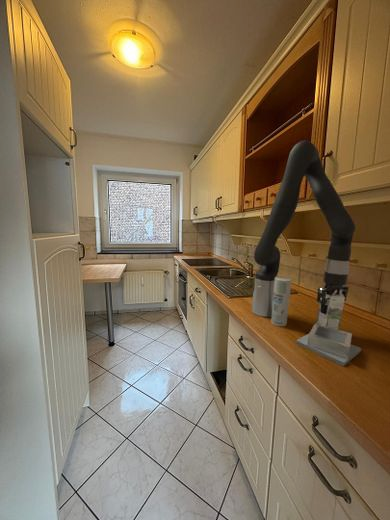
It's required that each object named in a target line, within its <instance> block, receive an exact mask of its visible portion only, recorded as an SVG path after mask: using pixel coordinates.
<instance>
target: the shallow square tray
mask: <svg viewBox="0 0 390 520" xmlns="http://www.w3.org/2000/svg"><path fill="white" fill-rule="evenodd" d="M308 334H309V335H308V343H307V345H308V346H311V347H314V348H317V349H320V350H322V351H325V352H328V353H331V354H334V355H337V356H340V357H343V358H346V359H348V355H349V349H350V344H351V343H352V337H353V336H352V335H353V334H352V333H351V332H347V331H343V330H340V329H339V330H337V329H333V328H330V327H326V326H323V325H319V324H316V323H314V324H313V326H312V328H311V330H310V331H309V333H308Z"/></svg>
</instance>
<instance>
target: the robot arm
mask: <svg viewBox="0 0 390 520" xmlns="http://www.w3.org/2000/svg"><path fill="white" fill-rule="evenodd" d="M288 155H289V156H288V159H287V163H286V167H285V169H284V170H285V171H284V174H283V178H282V181H281V183H280V186H279V187H278V191H277V193H276V197H275V199H274V202H273V204H272V207H271V210H270V213H269V216H268V218H267V221H266V223H265V224H266V225H265V227H264V230H263V232H262V235H261V237H260V239H259V241H258V244H257V245H256V248H255V249H254V252H253V259H254V261H255V263H256V264H257V265H258V266H259V265H260V267H259V269H258V270H257V271H256V272H255V277H254V279H255V280H254V291H253V292H252V302H251V311H252V313H253V314H254V315H256V316H258V317H264V318H265V317H266V318H267V317H270V318H271V317H272V306H273V295H274V283H275V277H278V274H279V270H280V265H281V264H280V261H281V250H280V249H279V247H278V246H277V241H278V240H279V237H280V236H281V235H282V233H283V232H284V231H285V229H286V228H287V227H288V226H289V225H290V223H291V221H292V219H293V217H294V215H295V212H296V210H297V207H298V203H299V200H300V192H301V186H302V182H303V180H304V177H305V179H306V181H307V182H308V184H309V187H310V189H311V191H312V195H313V197H314V200H315V202H316V204H317V206H318V208H319V209H320V212H321V213H322V214H323V216H324V217H325V219H326V222H327V224H328V226H329V228H330V231H331V238H330V245H329V248H328V252H327V259H326V261H325V266H324V268H325V269H324V274H323V279H322V280H323V282H324V283H325V285H324V286H323V287H318V288H317V297H316V302H317V303H319V304H320V303H321V308H320V312H321V313H323V314H327V308H328V303H329V300H330V297H327V296H326V295H327V294H328V295H330V296H334V295H337V294H339V295H342V296H344V297H345V300H344V302H346V301H347V297H348V292H349V286H347V283H348V276H349V272H350V271H349V270H350V260H351V253H352V242H353V236H354V233H355V231H356V224H355V222H354V220H353V219H352V216H351V215H350V214H349V212H348V211H347V209H346V207H345V206H344V203H343V200H342V199H341V197H340V195H339V194H338V192H337V190H336V188H335V187H334V185H333V184H332V182H331V181H330V179H329V177H328V176H327V173H326V171H325V169H324V167H323V165H322V161H321V157H320V154H319V149H318V148H317V146H316V145H315V144H314V143H313V142H311V141H309V140H301V141H299V142H297V143H296V144H295V145H294V146H293V148H292V149H291V150H290V152H289V154H288ZM320 298H322V299H321V300H320ZM325 299H327V300H326V302H325Z"/></svg>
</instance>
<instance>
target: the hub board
mask: <svg viewBox="0 0 390 520" xmlns="http://www.w3.org/2000/svg"><path fill="white" fill-rule="evenodd" d="M308 335H309V333H307V334H305V335H304V336H301V337H300V338H298V339H296V340H295V344H296V345H298V346H300V347H302V348H305V349H306V350H308V351H311V352H312V353H315V354H316V355H319V356H321V357H323V358H325V359H327V360H329V361H331V362H333V363H335V364H337V365H338V366H339V365H340V366H341V367H345V366H346V365H347V364H348V363H350V362H351V360H353V359H354V358H355V357H356V356H357V355H359V354H360V353H361V352H362V348H361V347H359V346H356V345H354V344H351V343H350V349H349V355H348V359H346V358H343V357H340V356H337V355H334V354H331V353H328V352H325V351H322V350H320V349H317V348H314V347H311V346H308V345H307V343H308Z"/></svg>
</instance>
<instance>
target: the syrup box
mask: <svg viewBox="0 0 390 520" xmlns="http://www.w3.org/2000/svg"><path fill="white" fill-rule="evenodd" d="M326 296H327V297H330V300H329V303H328V308H327V314H323V313H321V312H320V308H321V303H319V306H318V310H317V317H316V323H315V324H319V325H323V326H326V327H330V328H333V329H337V330H340V326H341V320H342V315H343V310H344V304H345V301H344V300H345V297H344V295H343V294H342V295H339V294H337V295H334V296H330V295H328V294H327V295H326ZM321 299H322V298H320V300H321ZM326 300H327V299H325V302H326Z"/></svg>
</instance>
